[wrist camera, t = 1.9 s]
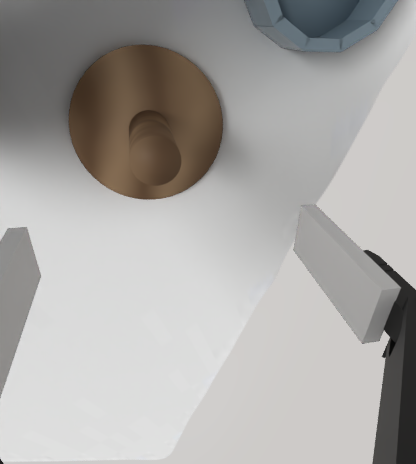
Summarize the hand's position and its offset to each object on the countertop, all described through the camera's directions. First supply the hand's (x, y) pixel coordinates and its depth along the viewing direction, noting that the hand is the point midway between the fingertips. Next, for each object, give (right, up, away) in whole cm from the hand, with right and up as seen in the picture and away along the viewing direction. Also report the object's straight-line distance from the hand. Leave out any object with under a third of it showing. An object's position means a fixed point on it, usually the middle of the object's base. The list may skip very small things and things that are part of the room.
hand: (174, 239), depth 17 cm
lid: (-4, +11, +18) cm, 22 cm away
